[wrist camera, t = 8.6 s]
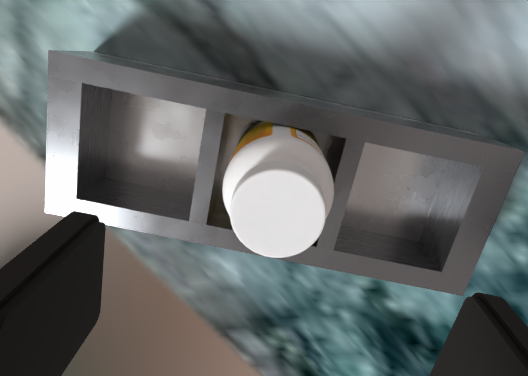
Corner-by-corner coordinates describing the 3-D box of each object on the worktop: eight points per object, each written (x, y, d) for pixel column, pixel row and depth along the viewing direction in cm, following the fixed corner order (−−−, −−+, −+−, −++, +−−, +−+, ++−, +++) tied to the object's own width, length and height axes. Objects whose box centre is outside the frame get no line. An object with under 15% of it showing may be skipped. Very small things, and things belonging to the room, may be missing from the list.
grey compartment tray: (93, 51, 24) (48, 50, 20) (478, 133, 25) (525, 151, 20) (85, 185, 27) (44, 212, 23) (431, 255, 28) (462, 295, 23)
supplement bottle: (234, 193, 26) (210, 269, 17) (238, 112, 24) (213, 146, 15) (315, 199, 26) (335, 278, 17) (324, 118, 24) (353, 157, 15)
